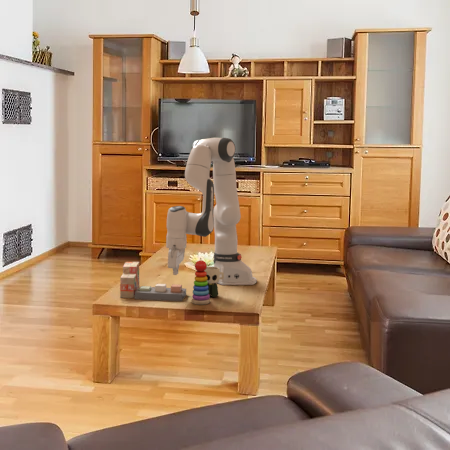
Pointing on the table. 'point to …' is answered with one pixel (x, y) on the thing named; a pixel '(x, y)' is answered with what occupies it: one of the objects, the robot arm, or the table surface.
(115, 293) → the table surface
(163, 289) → the cream button
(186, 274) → the table surface
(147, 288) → the sage button
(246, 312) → the table surface
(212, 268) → the character mug
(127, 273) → the stack of blocks
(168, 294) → the button panel
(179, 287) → the terracotta button
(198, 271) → the stacking toy
